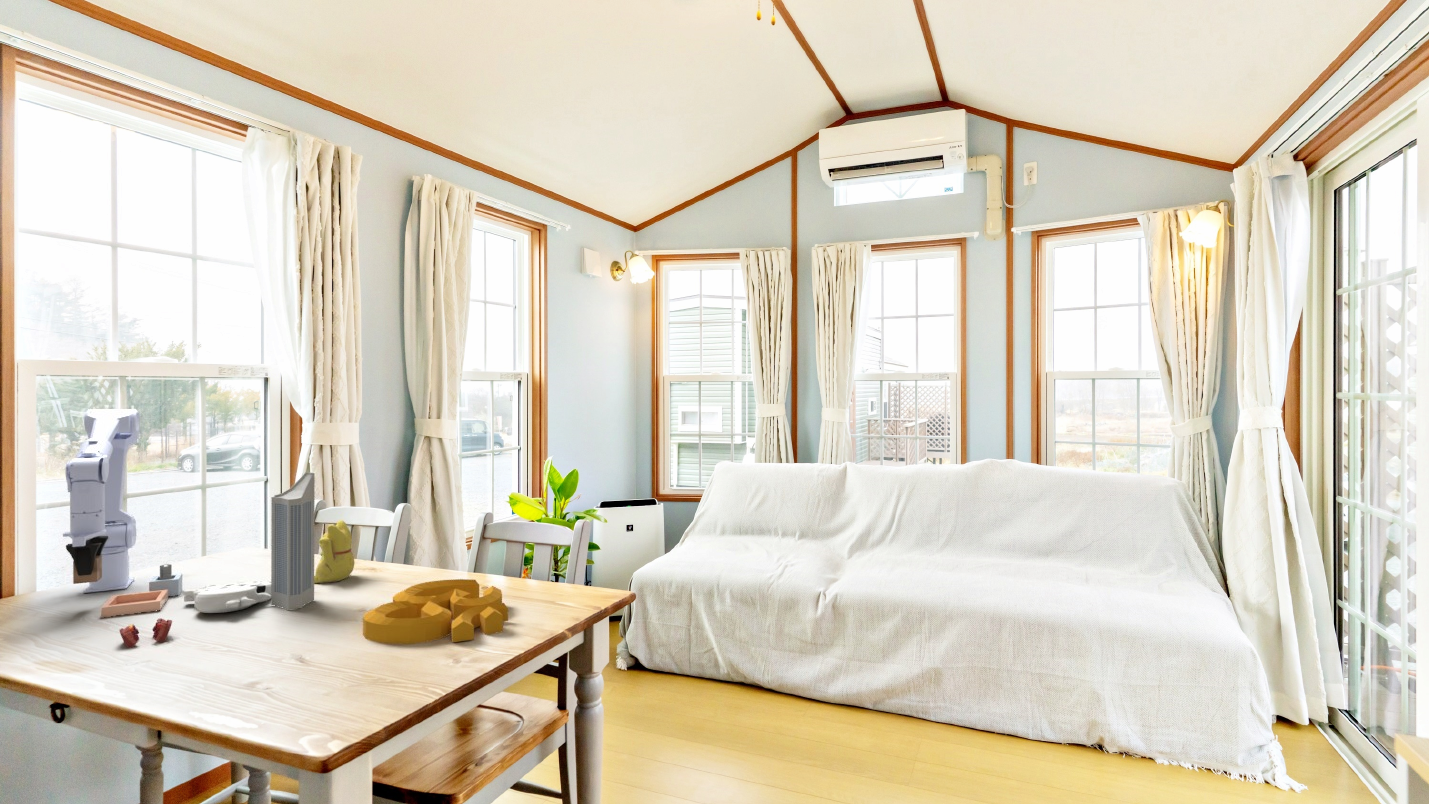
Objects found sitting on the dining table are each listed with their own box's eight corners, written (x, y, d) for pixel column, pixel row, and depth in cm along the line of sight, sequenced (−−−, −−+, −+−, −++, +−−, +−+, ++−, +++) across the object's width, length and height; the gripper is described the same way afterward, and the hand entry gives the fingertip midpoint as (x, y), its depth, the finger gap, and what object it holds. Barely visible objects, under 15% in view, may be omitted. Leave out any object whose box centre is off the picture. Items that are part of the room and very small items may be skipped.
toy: (147, 620, 147) (244, 615, 148) (148, 597, 147) (245, 592, 148) (216, 602, 169) (300, 598, 170) (216, 582, 169) (301, 578, 170)
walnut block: (78, 579, 155) (78, 557, 155) (101, 577, 157) (101, 555, 157) (73, 583, 151) (73, 561, 151) (97, 581, 153) (97, 559, 153)
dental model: (119, 620, 135) (171, 613, 140) (119, 641, 135) (171, 633, 141) (118, 629, 131) (172, 621, 136) (118, 651, 131) (172, 642, 136)
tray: (112, 605, 157) (112, 595, 157) (168, 598, 162) (168, 589, 162) (101, 617, 148) (101, 607, 148) (160, 610, 154) (160, 600, 154)
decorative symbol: (425, 575, 167) (541, 584, 162) (425, 596, 167) (541, 606, 162) (336, 614, 138) (474, 626, 132) (336, 640, 138) (473, 653, 133)
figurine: (327, 574, 185) (327, 518, 184) (360, 574, 185) (361, 518, 185) (304, 586, 174) (304, 526, 173) (340, 586, 174) (340, 527, 174)
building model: (321, 599, 163) (321, 472, 163) (296, 610, 155) (296, 476, 154) (288, 598, 164) (288, 471, 163) (261, 609, 156) (262, 475, 155)
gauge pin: (160, 594, 166) (160, 564, 166) (172, 592, 167) (172, 563, 167) (159, 596, 164) (158, 567, 164) (170, 595, 165) (170, 565, 165)
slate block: (153, 592, 167) (153, 576, 166) (182, 589, 169) (182, 573, 169) (149, 599, 162) (149, 582, 162) (178, 595, 165) (178, 579, 164)
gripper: (73, 507, 158) (73, 567, 158) (53, 518, 146) (53, 582, 146) (113, 505, 162) (113, 563, 162) (97, 515, 149) (97, 578, 149)
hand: (87, 572), depth 154 cm, fingers closed on walnut block, 4 cm apart
